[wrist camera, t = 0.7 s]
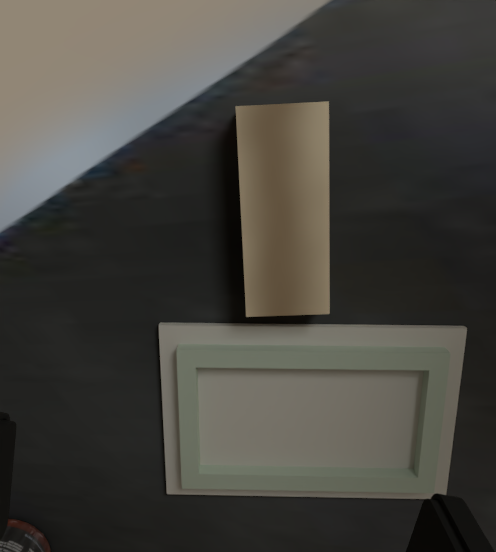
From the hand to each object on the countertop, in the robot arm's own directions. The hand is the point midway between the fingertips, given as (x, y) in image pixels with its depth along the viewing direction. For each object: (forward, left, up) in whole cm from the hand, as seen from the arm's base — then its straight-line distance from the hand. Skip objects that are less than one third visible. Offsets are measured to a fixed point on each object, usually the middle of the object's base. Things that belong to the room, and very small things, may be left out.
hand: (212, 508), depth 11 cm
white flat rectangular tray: (-4, +10, -21) cm, 23 cm away
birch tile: (-2, -4, -21) cm, 22 cm away
